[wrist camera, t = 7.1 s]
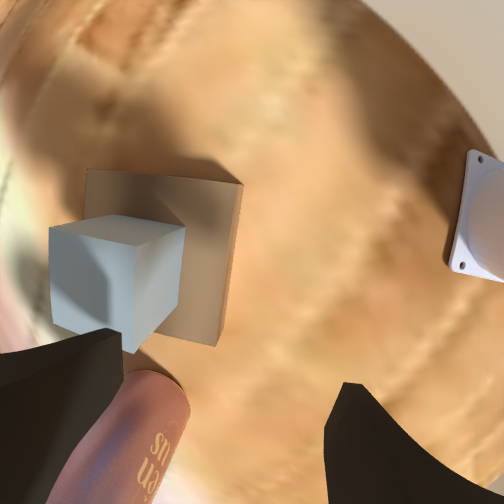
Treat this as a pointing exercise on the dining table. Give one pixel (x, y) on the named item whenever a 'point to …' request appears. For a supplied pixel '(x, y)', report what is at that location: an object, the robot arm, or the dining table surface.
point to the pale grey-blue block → (115, 275)
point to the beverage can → (126, 445)
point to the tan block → (195, 242)
